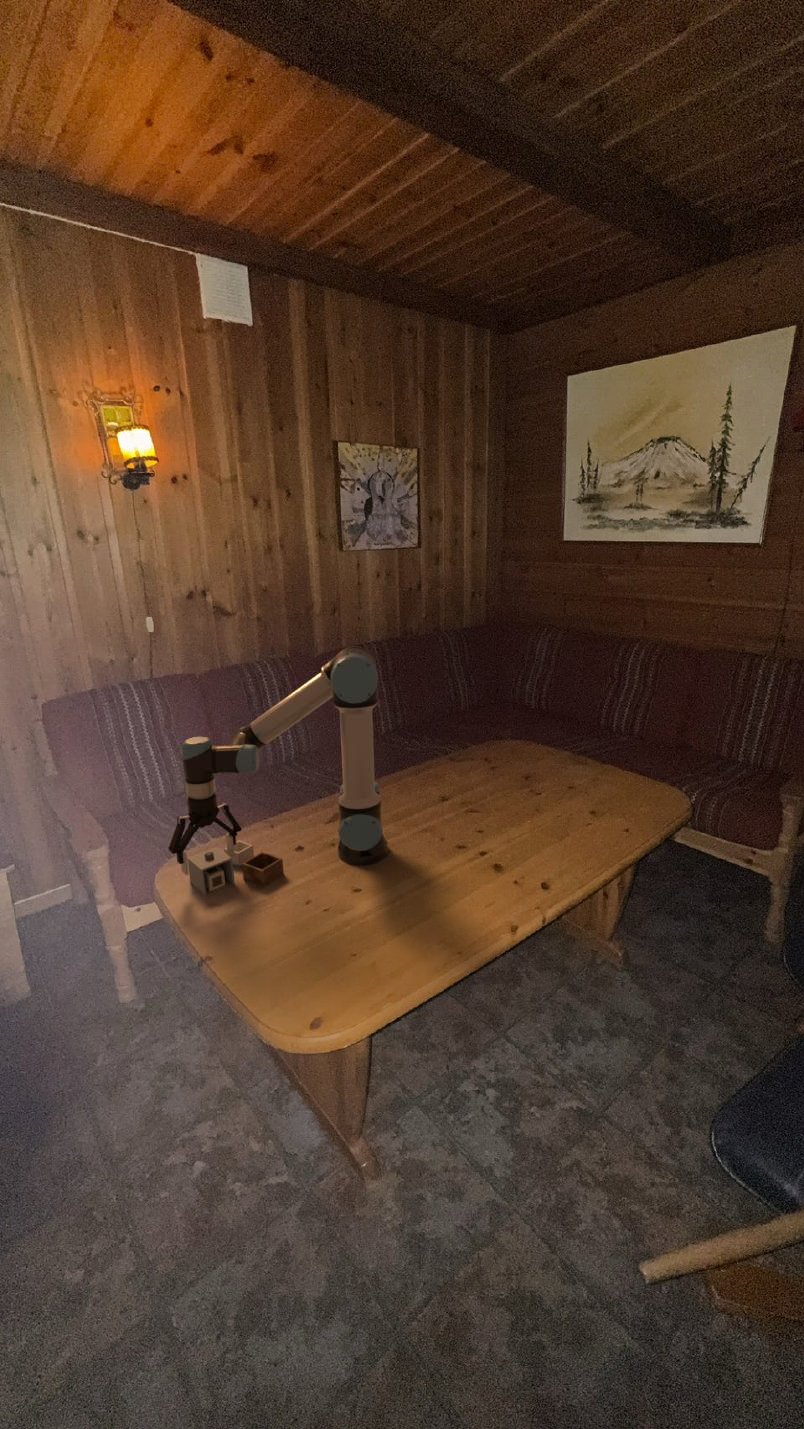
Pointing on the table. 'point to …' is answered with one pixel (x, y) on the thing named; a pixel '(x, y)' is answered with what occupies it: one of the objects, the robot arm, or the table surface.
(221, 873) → the cream boxy hollow piece
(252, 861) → the walnut bin
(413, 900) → the table surface
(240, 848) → the beige tub
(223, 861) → the cover
